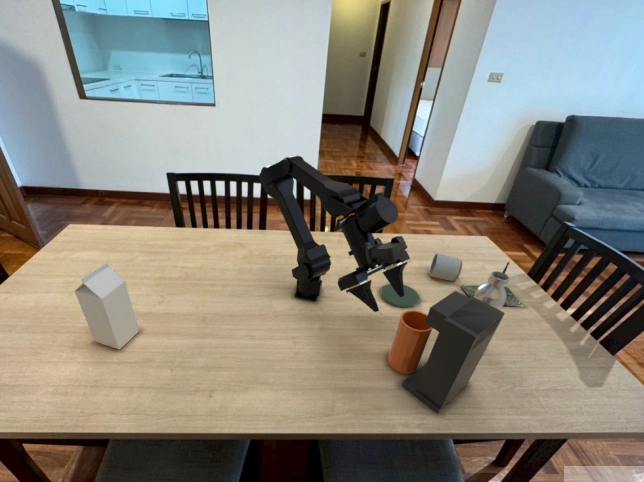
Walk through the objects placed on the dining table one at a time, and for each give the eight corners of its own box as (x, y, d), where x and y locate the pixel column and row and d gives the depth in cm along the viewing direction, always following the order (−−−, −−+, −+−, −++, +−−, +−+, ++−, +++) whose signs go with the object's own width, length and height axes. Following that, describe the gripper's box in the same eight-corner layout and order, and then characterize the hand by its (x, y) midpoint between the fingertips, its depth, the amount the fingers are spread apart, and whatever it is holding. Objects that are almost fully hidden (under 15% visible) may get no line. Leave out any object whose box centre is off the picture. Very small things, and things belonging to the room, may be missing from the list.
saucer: (378, 303, 101) (379, 300, 101) (382, 282, 110) (382, 280, 109) (418, 311, 99) (419, 309, 98) (418, 289, 107) (419, 287, 107)
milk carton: (139, 331, 87) (120, 265, 76) (119, 350, 82) (96, 282, 70) (116, 323, 89) (93, 258, 77) (94, 342, 83) (67, 275, 72)
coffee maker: (399, 384, 78) (425, 310, 65) (430, 359, 84) (459, 287, 71) (437, 413, 72) (474, 338, 59) (467, 385, 78) (506, 311, 66)
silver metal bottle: (470, 354, 86) (504, 287, 74) (449, 336, 91) (477, 271, 79) (488, 346, 89) (523, 280, 77) (466, 329, 93) (496, 265, 81)
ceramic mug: (456, 286, 110) (464, 264, 105) (429, 280, 111) (436, 259, 107) (453, 269, 118) (461, 249, 114) (428, 264, 120) (435, 244, 115)
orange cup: (386, 369, 81) (400, 327, 73) (388, 349, 86) (401, 307, 78) (417, 377, 80) (434, 334, 72) (417, 355, 85) (433, 314, 77)
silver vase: (505, 286, 111) (524, 249, 103) (524, 307, 103) (546, 268, 95) (460, 286, 110) (475, 249, 102) (475, 307, 102) (493, 267, 94)
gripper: (356, 238, 68) (390, 312, 68) (413, 216, 77) (442, 280, 77) (323, 257, 77) (353, 322, 77) (378, 235, 87) (404, 292, 87)
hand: (390, 303), depth 79 cm, fingers open, 9 cm apart
